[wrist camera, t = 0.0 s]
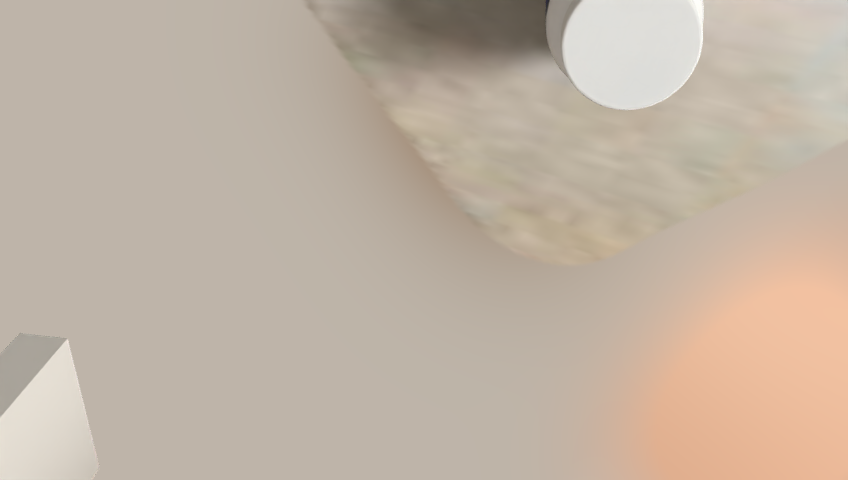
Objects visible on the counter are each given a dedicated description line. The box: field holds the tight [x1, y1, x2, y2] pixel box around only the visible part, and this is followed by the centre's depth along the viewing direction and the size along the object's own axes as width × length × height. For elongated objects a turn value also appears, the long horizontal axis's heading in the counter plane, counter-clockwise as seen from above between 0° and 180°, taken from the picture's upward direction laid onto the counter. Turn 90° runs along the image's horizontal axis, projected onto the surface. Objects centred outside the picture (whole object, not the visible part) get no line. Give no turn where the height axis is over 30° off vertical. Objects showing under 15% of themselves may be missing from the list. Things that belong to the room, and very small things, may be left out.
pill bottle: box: [545, 0, 704, 110], centre depth 31 cm, size 6×6×10 cm
